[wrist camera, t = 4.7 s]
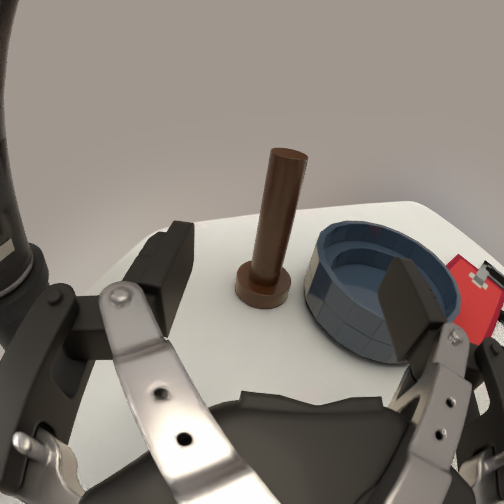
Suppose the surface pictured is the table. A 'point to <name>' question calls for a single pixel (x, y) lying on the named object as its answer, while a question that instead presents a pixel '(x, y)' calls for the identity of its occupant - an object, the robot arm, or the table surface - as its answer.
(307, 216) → the table surface
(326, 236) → the bowl
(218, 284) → the table surface
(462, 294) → the red board with handle
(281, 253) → the brown cylinder
